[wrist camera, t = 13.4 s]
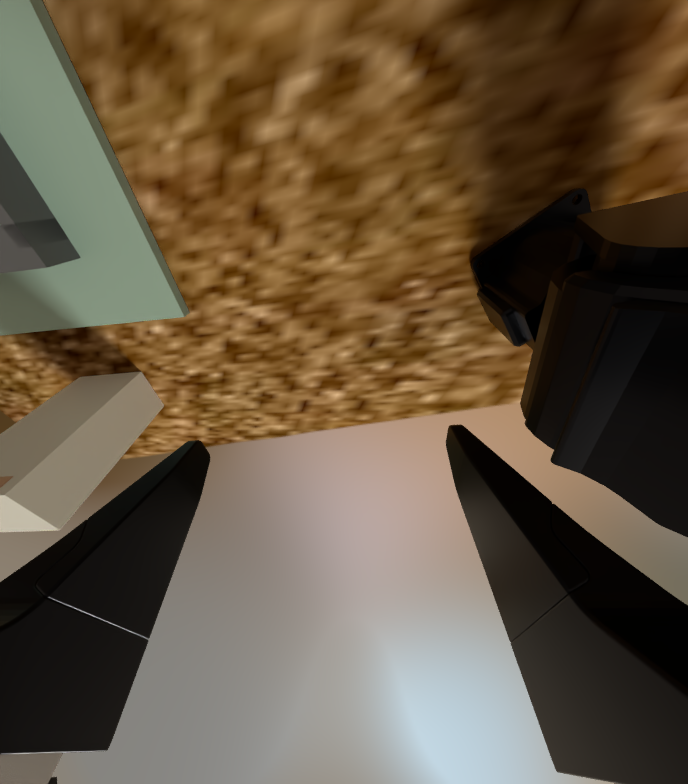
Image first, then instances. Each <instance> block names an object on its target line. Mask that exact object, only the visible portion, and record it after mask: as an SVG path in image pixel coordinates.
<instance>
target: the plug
mask: <svg viewBox="0 0 688 784" xmlns="http://www.w3.org/2000/svg"><path fill="white" fill-rule="evenodd" d="M163 407H164V404H163V403H162V401H161V400H160V398H159V397H158V395H157V394H156V393H155V391H154V390H153V388H152V387H151V385H150V384H149V382H148V381H147V379H146V378H145V376H144V375H143V373H142V372H130V373H119V374H107V375H96V376H84V377H79V378H78V379H76V380H75V381H74V382H72V383H71V384H69V385H68V386H67V387H65V388H64V389H62V390H61V391H60V392H58V393H57V394H56V395H54V396H53V397H51V398H50V399H49V400H47V401H46V402H44V403H43V404H42V405H40V406H39V407H38V408H36V409H35V410H33V411H32V412H31V413H29V414H28V415H26V416H25V417H24V418H22V419H21V420H19V421H18V422H17V423H15V424H14V425H13V426H11V427H10V428H8V429H7V430H6V431H4V432H3V433H1V434H0V532H22V531H52V530H53V531H54V530H61V529H62V528H63V526H64V525H65V524H66V523H67V522H68V520H69V519H70V518H71V517H72V516H73V514H74V513H75V512H76V511H77V510H78V508H79V507H80V506H81V505H82V504H83V502H84V501H85V500H86V499H87V498H88V496H89V495H90V494H91V493H92V491H93V490H94V489H95V488H96V487H97V486H98V484H99V483H100V482H101V481H102V480H103V478H104V477H105V476H106V475H107V474H108V472H109V471H110V470H111V469H112V468H113V466H114V465H115V464H116V463H117V462H118V461H119V459H120V458H121V457H122V456H123V455H124V453H125V452H126V451H127V450H128V449H129V447H130V446H131V445H132V444H133V443H134V441H135V440H136V439H137V438H138V437H139V435H140V434H141V433H142V432H143V431H144V429H145V428H146V427H147V426H148V425H149V423H150V422H151V421H152V420H153V419H154V417H155V416H156V415H157V414H158V413H159V411H160V410H161V409H162V408H163Z"/></svg>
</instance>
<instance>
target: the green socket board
mask: <svg viewBox="0 0 688 784" xmlns="http://www.w3.org/2000/svg"><path fill="white" fill-rule="evenodd" d="M189 313H190V312H189V310H188V308H187V306H186V304H185V302H184V300H183V298H182V296H181V293H180V291H179V289H178V287H177V285H176V283H175V281H174V279H173V276H172V274H171V272H170V270H169V268H168V266H167V264H166V262H165V260H164V257H163V255H162V253H161V251H160V249H159V247H158V245H157V243H156V241H155V238H154V236H153V234H152V232H151V230H150V228H149V226H148V224H147V221H146V219H145V217H144V215H143V213H142V211H141V209H140V207H139V205H138V202H137V200H136V198H135V196H134V194H133V192H132V190H131V188H130V185H129V183H128V181H127V179H126V177H125V175H124V173H123V171H122V169H121V166H120V164H119V162H118V160H117V158H116V156H115V154H114V152H113V150H112V147H111V145H110V143H109V141H108V139H107V137H106V135H105V133H104V130H103V128H102V126H101V124H100V122H99V120H98V118H97V116H96V114H95V111H94V109H93V107H92V105H91V103H90V101H89V99H88V97H87V95H86V92H85V90H84V88H83V86H82V84H81V82H80V80H79V78H78V75H77V73H76V71H75V69H74V67H73V65H72V63H71V61H70V59H69V56H68V54H67V52H66V50H65V48H64V46H63V44H62V42H61V39H60V37H59V35H58V33H57V31H56V29H55V27H54V25H53V23H52V20H51V18H50V16H49V14H48V12H47V10H46V8H45V6H44V4H43V1H42V0H0V335H9V334H19V333H29V332H39V331H49V330H59V329H69V328H79V327H89V326H99V325H109V324H119V323H129V322H139V321H149V320H159V319H169V318H178V317H185V316H186V315H187V314H189Z"/></svg>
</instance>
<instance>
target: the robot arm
mask: <svg viewBox="0 0 688 784" xmlns="http://www.w3.org/2000/svg"><path fill="white" fill-rule="evenodd" d="M576 195H578V199H577V201H576V202H575V203H574V204H572V200H573V198H574V197H575V196H576ZM480 260H483V263H482V265H481V266H480V267H477V263H478V262H479V261H480ZM471 268H472V270H473V273H474V275H475V277H476V279H477V281H478V283H479V285H480V287H481V289H479V290H478V293H477V296H478V298H479V300H480V302H481V304H482V306H483V308H484V310H485V312H486V314H487V316H488V318H489V320H490V321H491V323H492V324H493V325H494V326H495V327H496V328H497V329H498V330H499V331H500V332H501V333H502V334H503V335H504V336H505V337H506V338H507V339H508V340H509V341H510V342H511V343H512V344H513V345H514V346H521V345H523V344H525V343H526V344H527V345H528V346H529V347H531V348H532V349H533V354H532V358H531V362H530V366H529V370H528V374H527V378H526V382H525V386H524V390H523V394H522V398H521V402H520V405H521V408H522V412H523V415H524V417H525V419H526V421H525V425H526V427H527V428H528V429H529V430H530V431H531V432H532V434H533V435H534V436H535V437H537V438H538V439H539V440H541V441H542V442H543V443H545V444H546V445H547V446H549V447H550V448H552V449H554V452H553V454H552V457H551V462H552V463H553V464H555V465H558V466H561V467H564V468H567V469H570V470H572V471H575V472H578V473H581V474H583V475H585V476H587V477H589V478H591V479H592V480H594V481H596V482H598V483H600V484H602V485H604V486H606V487H607V488H609V489H610V490H612V491H613V492H615V493H616V494H618V495H619V496H621V497H622V498H623V499H625V500H626V501H627V502H629V503H630V504H631V505H633V506H634V507H635V508H637V509H638V510H640V511H641V512H642V513H644V514H645V515H646V516H648V517H649V518H650V519H652V520H653V521H654V522H656V523H658V524H659V525H661V526H663V527H665V528H668V529H670V530H672V531H675V532H677V533H679V534H682V535H683V536H686V537H688V191H687V192H683V193H678V194H673V195H669V196H664V197H659V198H655V199H650V200H646V201H641V202H636V203H632V204H627V205H622V206H618V207H613V208H609V209H604V210H599V211H595V212H591V208H590V203H589V198H588V194H587V191H586V190H585V189H580V188H578V189H573V190H571V191H570V192H568V193H567V194H565V195H564V196H562V197H561V198H559V199H558V200H557V201H555V202H554V203H552V204H551V205H549V206H548V207H546V208H545V209H544V210H542V211H541V212H539V213H538V214H536V215H535V216H533V217H532V218H530V219H529V220H528V221H526V222H525V223H523V224H522V225H520V226H519V227H517V228H516V229H515V230H513V231H512V232H510V233H509V234H507V235H506V236H504V237H503V238H501V239H500V240H499V241H497V242H496V243H494V244H493V245H491V246H490V247H488V248H487V249H486V250H484V251H483V252H481V253H480V254H478V255H477V256H475V257H474V258H473V260H472V262H471ZM446 448H447V452H448V457H449V461H450V465H451V470H452V474H453V479H454V483H455V487H456V490H457V493H458V496H459V499H460V502H461V505H462V508H463V511H464V513H465V516H466V519H467V522H468V525H469V527H470V530H471V533H472V536H473V539H474V541H475V544H476V547H477V550H478V553H479V556H480V558H481V561H482V564H483V567H484V569H485V572H486V575H487V578H488V581H489V584H490V586H491V589H492V592H493V595H494V598H495V601H496V603H497V606H498V609H499V612H500V614H501V617H502V620H503V623H504V625H505V628H506V631H507V634H508V637H509V640H510V642H511V646H512V649H513V651H514V654H515V657H516V660H517V663H518V666H519V668H520V671H521V674H522V677H523V679H524V682H525V685H526V688H527V691H528V694H529V697H530V699H531V702H532V705H533V707H534V711H535V713H536V716H537V719H538V721H539V725H540V727H541V730H542V733H543V736H544V739H545V742H546V744H547V747H548V750H549V753H550V756H551V758H552V761H553V764H554V766H555V769H556V771H557V772H560V773H564V774H570V775H576V776H581V777H586V778H591V779H597V780H603V781H608V782H613V783H614V784H688V605H686V604H684V603H683V602H682V601H680V600H679V599H677V598H676V597H674V596H673V595H672V594H670V593H669V592H667V591H666V590H664V589H663V588H662V587H661V586H659V585H658V584H657V583H655V582H654V581H653V580H651V579H650V578H649V577H647V576H646V575H644V574H643V573H641V572H640V571H639V570H638V569H636V568H635V567H634V566H632V565H631V564H630V563H628V562H627V561H626V560H624V559H623V558H622V557H620V556H619V555H618V554H616V553H615V552H614V551H612V550H611V549H609V548H608V547H607V546H606V545H604V544H603V543H602V542H600V541H599V540H598V539H596V538H595V537H594V536H592V535H591V534H590V533H589V532H587V531H586V530H585V529H584V528H582V527H581V526H580V525H579V524H578V523H576V522H575V521H574V520H572V518H570V517H569V516H568V515H567V514H566V513H564V512H563V511H562V510H561V509H560V508H558V507H557V506H556V505H555V504H552V502H551V501H550V500H549V499H548V498H547V497H546V496H544V495H543V494H542V493H541V492H540V491H539V490H537V489H536V488H535V487H534V486H533V485H531V484H530V483H529V482H528V481H527V480H526V479H525V478H524V477H522V476H521V475H520V474H519V473H518V472H516V471H515V470H514V469H513V468H512V467H511V466H509V465H508V464H507V463H506V462H505V461H503V460H502V459H501V458H500V457H499V456H498V455H497V454H496V453H494V452H493V451H492V450H491V449H490V448H488V447H487V446H486V445H485V444H484V443H483V442H482V441H480V440H479V439H478V438H477V437H476V436H474V435H473V434H472V433H471V432H470V431H469V430H468V429H466V428H465V427H464V426H463V425H450V426H449V428H448V433H447V439H446ZM209 463H210V454H209V452H208V451H207V449H206V448H205V446H204V445H203V443H202V442H201V441H199V440H195V441H188V442H186V443H185V444H184V445H182V446H181V447H180V448H179V449H177V450H176V451H175V452H173V453H172V454H171V455H170V456H168V457H167V458H166V459H164V460H163V461H162V462H160V463H159V464H158V465H157V466H155V467H154V468H153V469H151V470H150V471H149V472H147V473H146V474H145V475H144V476H142V477H141V478H140V479H139V480H137V481H136V482H135V483H133V484H132V485H131V486H129V487H128V488H127V489H126V490H124V491H123V492H122V493H120V494H119V495H118V496H116V497H115V498H114V499H112V500H111V501H110V502H109V503H107V504H106V505H105V506H103V507H102V508H101V509H100V510H98V511H97V512H96V513H94V514H93V515H92V516H90V517H89V518H88V520H85V521H84V522H83V523H81V524H80V525H79V526H78V527H76V528H75V529H74V530H72V531H71V532H70V533H68V534H67V535H66V536H65V537H63V538H62V539H60V540H59V541H58V542H56V543H55V544H54V545H52V546H51V547H49V548H48V549H47V550H45V551H44V552H42V553H41V554H40V555H38V556H37V557H35V558H34V559H33V560H31V561H30V562H28V563H27V564H26V565H24V566H23V567H21V568H20V569H18V570H17V571H16V572H14V573H13V574H11V575H10V576H8V577H7V578H6V579H4V580H3V581H1V582H0V784H57V777H51V776H52V774H53V772H54V770H55V768H56V766H57V764H58V762H59V760H60V758H61V756H62V754H63V753H68V752H97V751H107V750H108V748H109V746H110V743H111V741H112V739H113V736H114V734H115V731H116V728H117V725H118V723H119V720H120V717H121V714H122V711H123V709H124V706H125V703H126V701H127V698H128V695H129V693H130V690H131V687H132V684H133V681H134V679H135V676H136V673H137V670H138V668H139V665H140V663H141V660H142V657H143V654H144V651H145V649H146V646H147V643H148V639H149V638H150V635H151V632H152V629H153V626H154V624H155V621H156V618H157V616H158V613H159V610H160V607H161V605H162V602H163V599H164V597H165V594H166V591H167V588H168V586H169V583H170V580H171V577H172V575H173V572H174V569H175V566H176V564H177V561H178V558H179V556H180V553H181V550H182V547H183V544H184V542H185V539H186V537H187V534H188V531H189V528H190V526H191V523H192V520H193V517H194V515H195V512H196V509H197V506H198V503H199V501H200V497H201V494H202V490H203V486H204V482H205V478H206V474H207V470H208V467H209Z"/></svg>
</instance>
